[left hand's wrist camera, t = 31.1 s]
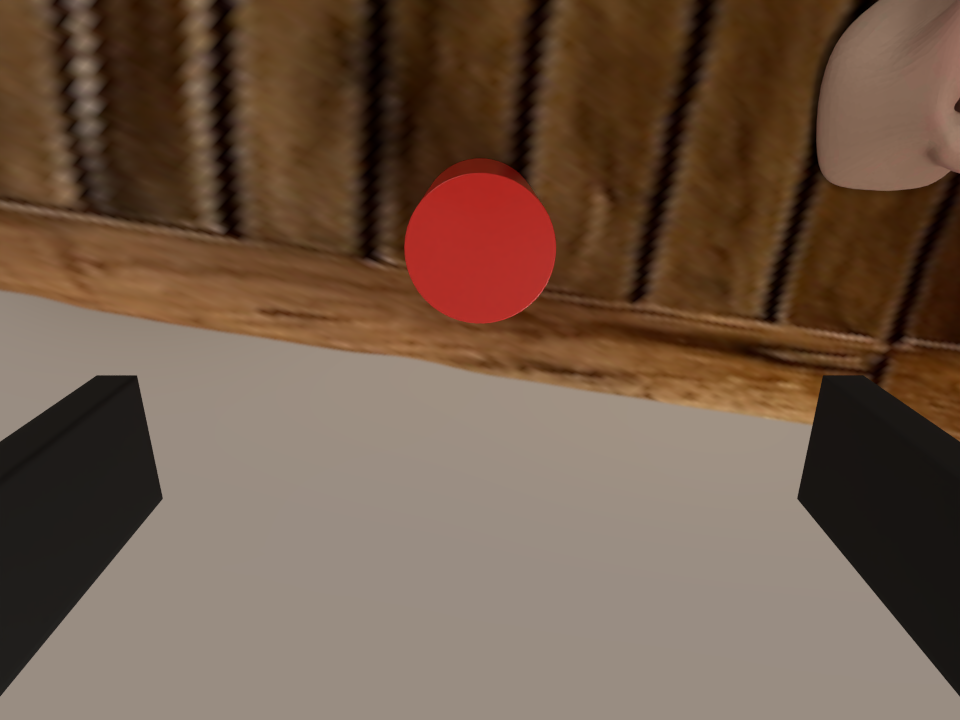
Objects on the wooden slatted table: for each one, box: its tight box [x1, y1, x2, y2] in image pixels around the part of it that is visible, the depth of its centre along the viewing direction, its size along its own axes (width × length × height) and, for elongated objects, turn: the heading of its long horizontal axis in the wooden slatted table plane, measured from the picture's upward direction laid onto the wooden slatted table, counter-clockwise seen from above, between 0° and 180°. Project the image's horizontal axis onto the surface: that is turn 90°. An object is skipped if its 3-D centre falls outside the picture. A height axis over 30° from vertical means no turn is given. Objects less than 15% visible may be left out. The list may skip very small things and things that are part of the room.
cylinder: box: [404, 158, 556, 323], centre depth 34 cm, size 7×7×10 cm
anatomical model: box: [816, 0, 960, 191], centre depth 34 cm, size 13×4×12 cm
